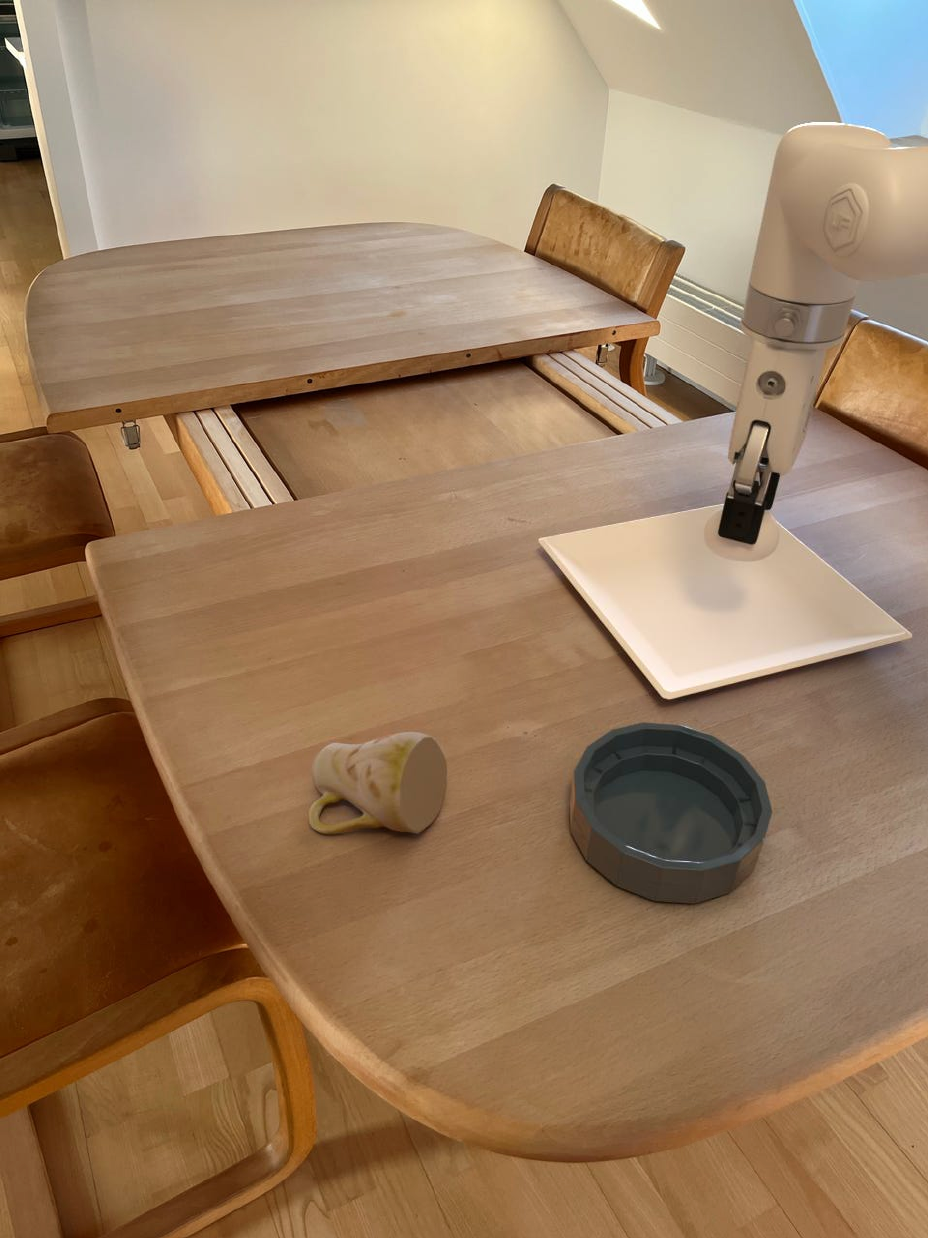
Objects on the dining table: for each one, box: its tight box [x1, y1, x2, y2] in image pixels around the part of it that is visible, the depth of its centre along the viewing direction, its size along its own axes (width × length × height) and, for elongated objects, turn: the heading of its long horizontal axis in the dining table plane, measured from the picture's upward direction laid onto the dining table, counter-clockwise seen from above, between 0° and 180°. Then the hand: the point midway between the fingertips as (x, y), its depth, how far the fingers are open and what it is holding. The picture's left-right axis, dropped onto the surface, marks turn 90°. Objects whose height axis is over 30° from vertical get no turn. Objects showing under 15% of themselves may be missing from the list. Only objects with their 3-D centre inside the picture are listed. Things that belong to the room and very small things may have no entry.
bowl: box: [569, 721, 773, 904], centre depth 68 cm, size 14×14×4 cm
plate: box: [537, 503, 913, 701], centre depth 92 cm, size 26×26×2 cm
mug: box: [308, 731, 448, 835], centre depth 68 cm, size 8×10×10 cm
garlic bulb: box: [704, 472, 780, 562], centre depth 80 cm, size 6×6×8 cm
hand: (745, 520), depth 80 cm, fingers closed on garlic bulb, 5 cm apart
